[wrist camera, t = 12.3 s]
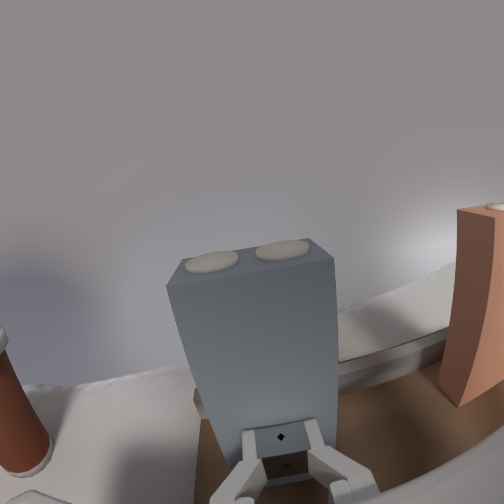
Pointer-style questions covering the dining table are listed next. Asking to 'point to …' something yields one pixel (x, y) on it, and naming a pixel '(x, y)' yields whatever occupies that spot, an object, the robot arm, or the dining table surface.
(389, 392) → the board
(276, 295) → the tile two
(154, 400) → the dining table surface
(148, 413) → the dining table surface
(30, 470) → the coffee cup
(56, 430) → the dining table surface
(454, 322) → the tile one
